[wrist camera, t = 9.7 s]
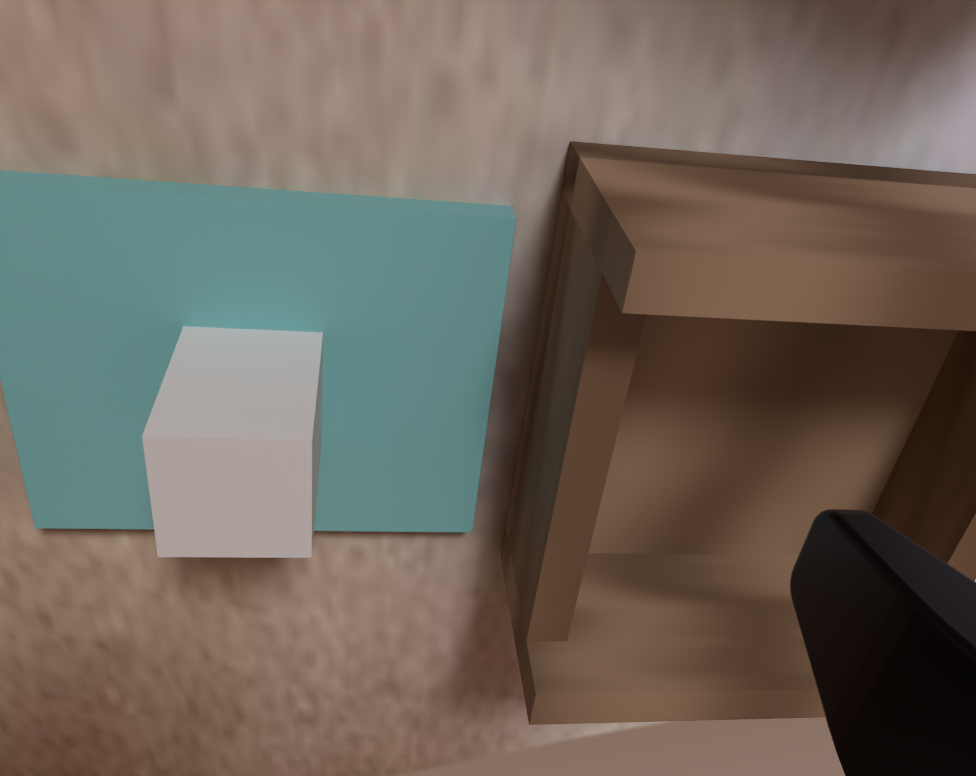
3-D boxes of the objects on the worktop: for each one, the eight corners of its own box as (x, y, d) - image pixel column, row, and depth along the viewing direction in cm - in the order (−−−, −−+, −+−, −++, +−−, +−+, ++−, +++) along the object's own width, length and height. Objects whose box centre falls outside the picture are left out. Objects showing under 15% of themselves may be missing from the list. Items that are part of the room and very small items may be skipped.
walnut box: (500, 555, 24) (529, 724, 20) (570, 141, 18) (635, 251, 13) (854, 557, 26) (955, 713, 22) (1035, 179, 20) (1234, 288, 15)
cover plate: (50, 496, 22) (-28, 659, 18) (-23, 159, 17) (-153, 272, 13) (468, 502, 24) (488, 652, 20) (509, 197, 19) (547, 308, 15)
